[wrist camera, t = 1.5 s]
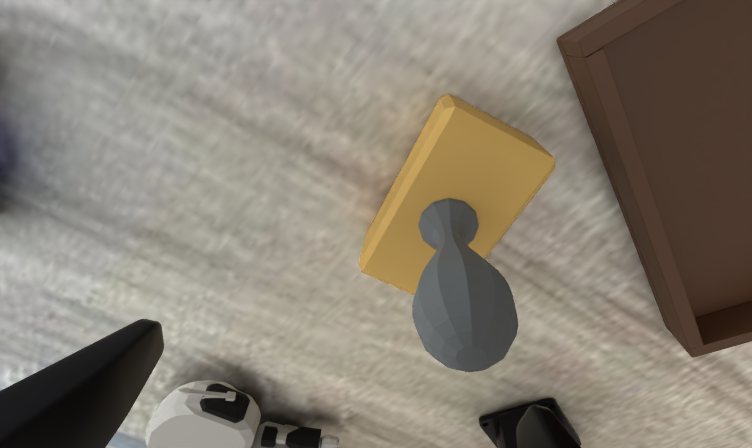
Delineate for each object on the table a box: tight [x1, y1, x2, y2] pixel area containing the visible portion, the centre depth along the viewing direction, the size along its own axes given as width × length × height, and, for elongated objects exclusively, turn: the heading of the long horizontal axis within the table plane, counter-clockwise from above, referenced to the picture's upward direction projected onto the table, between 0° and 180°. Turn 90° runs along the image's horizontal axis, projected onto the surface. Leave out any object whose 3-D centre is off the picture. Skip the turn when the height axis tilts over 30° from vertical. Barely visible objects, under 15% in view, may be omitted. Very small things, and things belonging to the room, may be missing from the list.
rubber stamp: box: [359, 94, 555, 372], centre depth 16 cm, size 10×6×12 cm, turn 155°
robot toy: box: [146, 380, 339, 448], centre depth 32 cm, size 12×4×15 cm
